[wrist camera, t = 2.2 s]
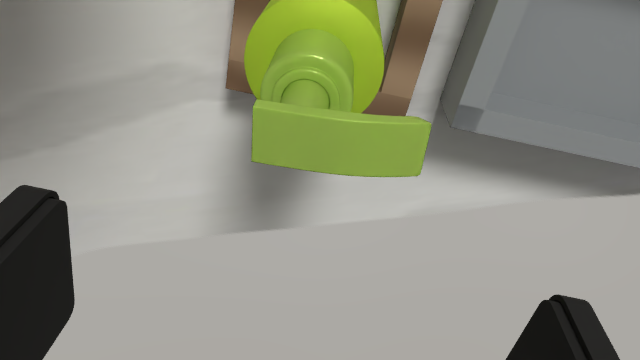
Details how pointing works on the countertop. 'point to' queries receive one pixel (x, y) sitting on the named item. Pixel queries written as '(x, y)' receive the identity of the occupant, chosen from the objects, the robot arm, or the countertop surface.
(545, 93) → the slate tray
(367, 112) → the walnut holder
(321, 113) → the soap dispenser
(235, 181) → the countertop surface
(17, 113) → the countertop surface
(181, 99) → the countertop surface
